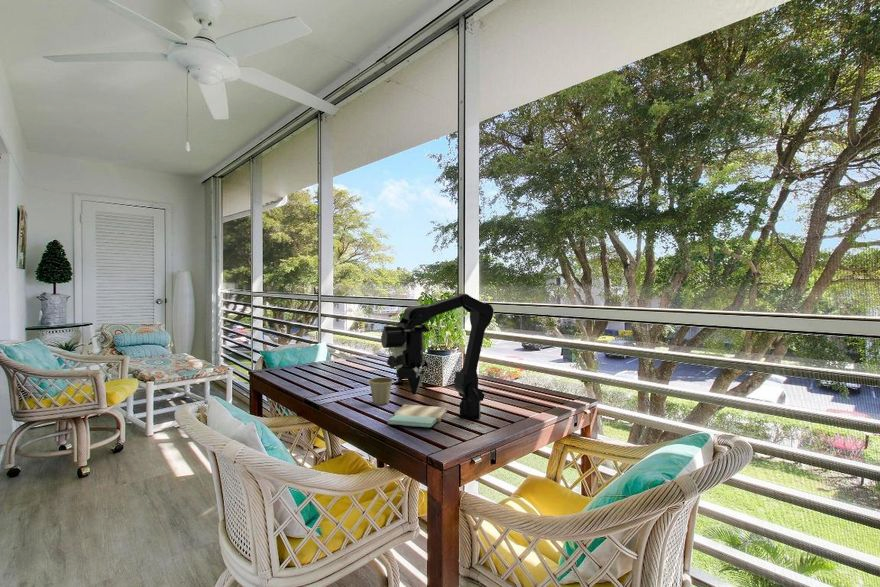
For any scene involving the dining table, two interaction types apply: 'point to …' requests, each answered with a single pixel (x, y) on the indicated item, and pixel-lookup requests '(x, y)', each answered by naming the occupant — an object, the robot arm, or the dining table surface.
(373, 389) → the flower pot
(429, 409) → the beige flat block
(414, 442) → the dining table surface
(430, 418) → the panel
